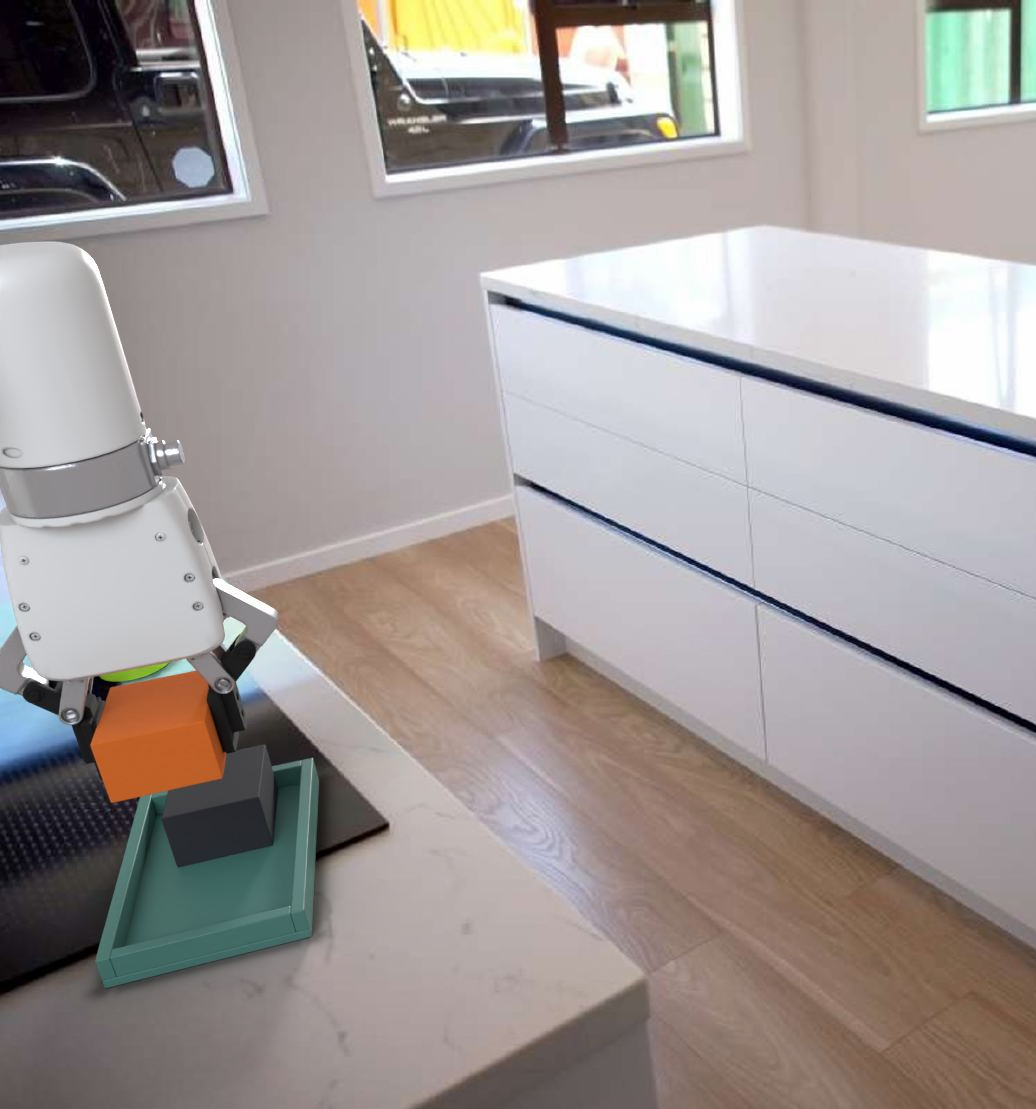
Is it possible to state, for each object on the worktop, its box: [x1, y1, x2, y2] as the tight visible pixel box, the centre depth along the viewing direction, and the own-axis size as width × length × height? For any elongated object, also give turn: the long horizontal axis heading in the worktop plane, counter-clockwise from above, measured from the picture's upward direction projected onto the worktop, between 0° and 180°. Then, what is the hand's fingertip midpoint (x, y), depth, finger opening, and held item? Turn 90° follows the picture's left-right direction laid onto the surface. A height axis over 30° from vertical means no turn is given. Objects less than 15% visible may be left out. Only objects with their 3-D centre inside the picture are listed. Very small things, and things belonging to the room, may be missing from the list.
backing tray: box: [94, 757, 320, 989], centre depth 84 cm, size 12×18×2 cm, turn 19°
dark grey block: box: [161, 744, 278, 867], centre depth 87 cm, size 6×7×4 cm
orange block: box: [90, 670, 227, 804], centre depth 76 cm, size 6×7×4 cm
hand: (171, 752), depth 76 cm, fingers closed on orange block, 6 cm apart
